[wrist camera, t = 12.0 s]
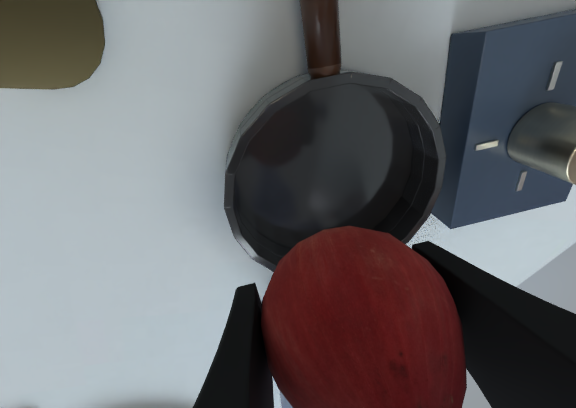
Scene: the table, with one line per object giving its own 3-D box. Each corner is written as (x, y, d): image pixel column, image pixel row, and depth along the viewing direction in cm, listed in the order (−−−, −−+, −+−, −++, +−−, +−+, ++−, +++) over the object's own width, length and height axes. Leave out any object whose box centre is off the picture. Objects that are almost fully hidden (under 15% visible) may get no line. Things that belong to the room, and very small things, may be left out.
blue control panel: (533, 186, 22) (568, 202, 19) (428, 211, 21) (451, 231, 19) (596, 5, 16) (657, -4, 13) (450, 33, 15) (489, 30, 13)
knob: (552, 155, 17) (626, 179, 14) (500, 167, 17) (563, 195, 14) (573, 96, 15) (664, 108, 12) (515, 109, 15) (592, 125, 12)
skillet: (409, 231, 22) (432, 254, 19) (252, 269, 21) (255, 299, 19) (424, 49, 15) (463, 48, 13) (196, 95, 14) (188, 104, 12)
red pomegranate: (409, 204, 11) (675, 438, 4) (352, 299, 14) (467, 547, 7) (278, 171, 10) (384, 468, 3) (240, 287, 12) (244, 599, 5)
